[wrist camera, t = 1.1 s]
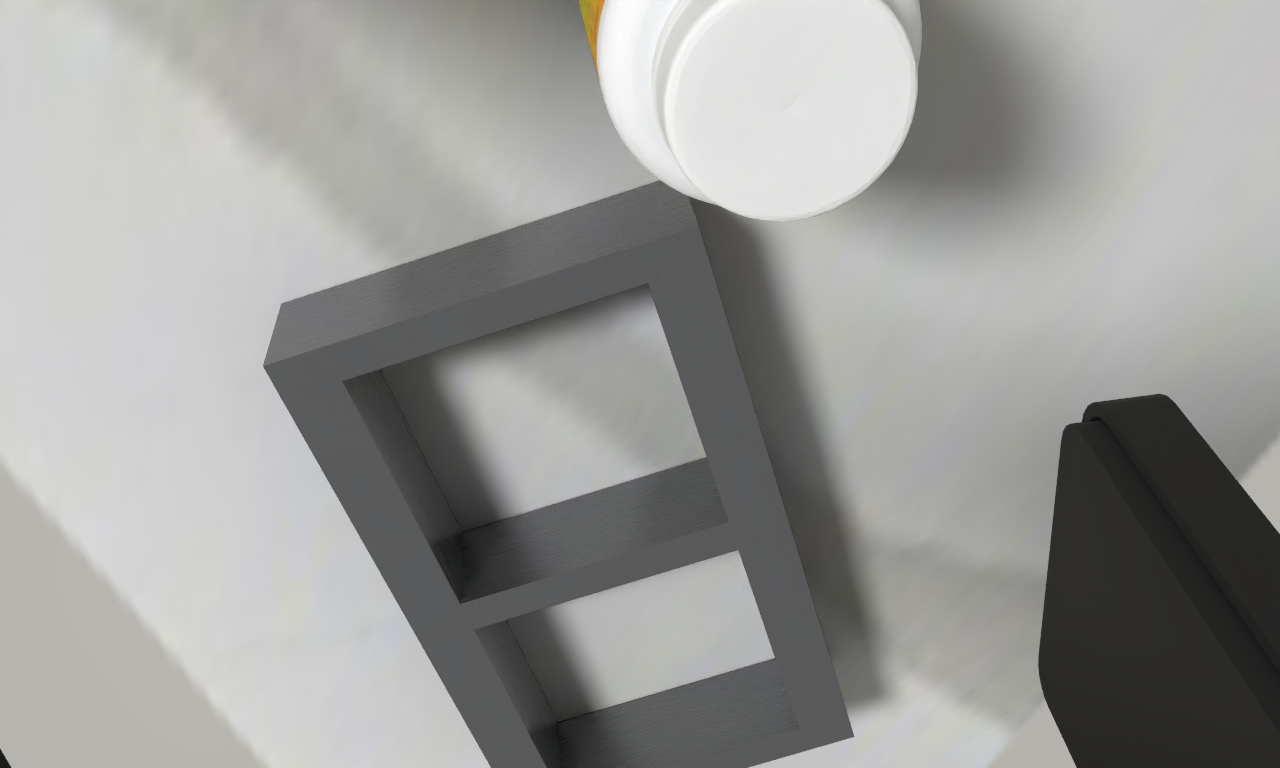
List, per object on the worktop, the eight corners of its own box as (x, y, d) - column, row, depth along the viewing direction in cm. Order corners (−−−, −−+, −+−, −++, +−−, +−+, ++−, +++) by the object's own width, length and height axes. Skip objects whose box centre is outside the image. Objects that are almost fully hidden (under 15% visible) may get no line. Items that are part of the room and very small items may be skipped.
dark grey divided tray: (281, 304, 31) (262, 366, 28) (681, 173, 30) (698, 225, 27) (524, 755, 40) (527, 831, 38) (830, 664, 40) (854, 736, 37)
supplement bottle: (715, 117, 29) (810, 328, 21) (520, -19, 27) (536, 154, 18) (869, -83, 27) (1047, 59, 19) (671, -247, 25) (768, -174, 16)
